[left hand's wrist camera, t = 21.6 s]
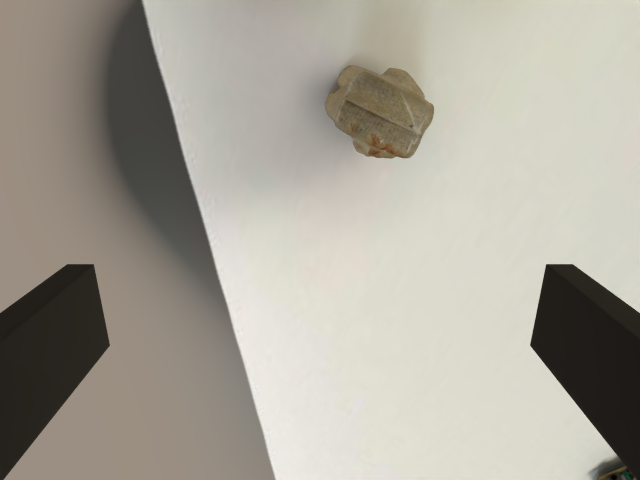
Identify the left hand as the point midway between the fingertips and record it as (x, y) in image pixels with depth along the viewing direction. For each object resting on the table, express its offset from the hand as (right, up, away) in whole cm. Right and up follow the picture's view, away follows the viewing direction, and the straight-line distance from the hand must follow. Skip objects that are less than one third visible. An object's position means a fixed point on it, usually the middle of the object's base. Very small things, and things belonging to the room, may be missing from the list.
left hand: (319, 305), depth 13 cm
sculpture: (+4, +13, +24) cm, 28 cm away
